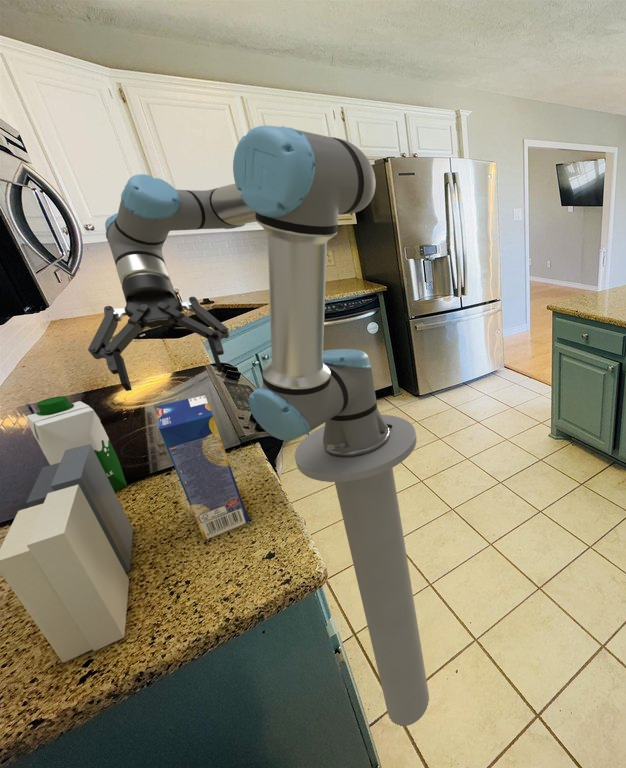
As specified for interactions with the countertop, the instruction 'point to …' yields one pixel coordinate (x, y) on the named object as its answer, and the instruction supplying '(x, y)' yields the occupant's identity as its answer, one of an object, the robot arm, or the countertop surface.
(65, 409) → the milk carton
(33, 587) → the cream books
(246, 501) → the countertop surface
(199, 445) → the beverage box
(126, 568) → the grey books
